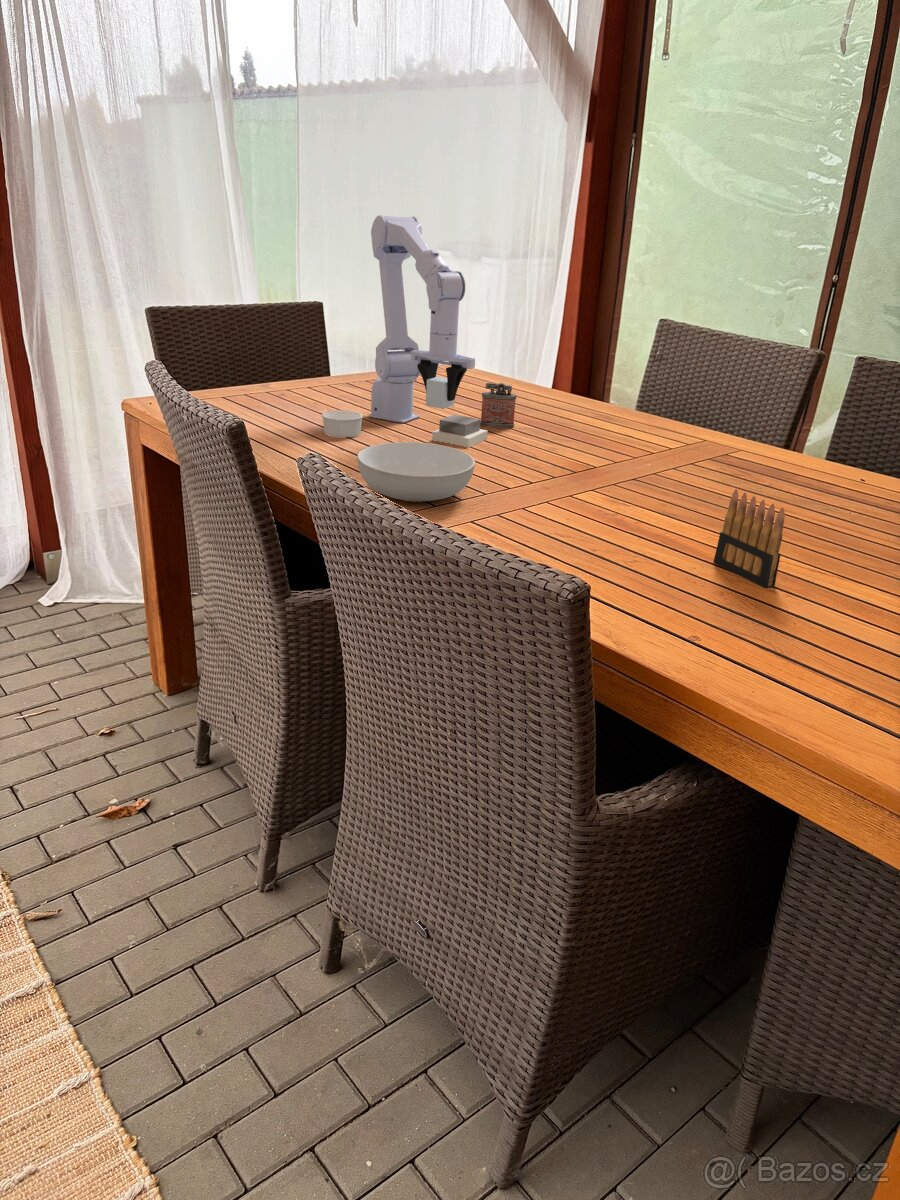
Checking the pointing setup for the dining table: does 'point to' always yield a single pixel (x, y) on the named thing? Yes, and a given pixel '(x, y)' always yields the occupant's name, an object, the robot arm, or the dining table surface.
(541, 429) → the dining table surface
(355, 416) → the ramekin
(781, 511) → the ammunition clip
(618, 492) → the dining table surface
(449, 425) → the gray slab
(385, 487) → the serving bowl
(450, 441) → the base slab
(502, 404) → the lighter
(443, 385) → the gray block
